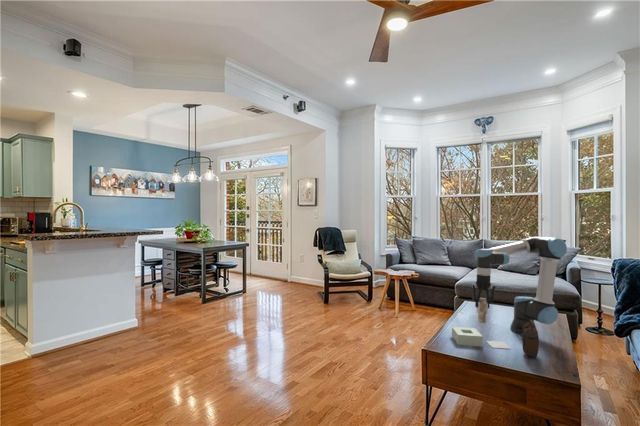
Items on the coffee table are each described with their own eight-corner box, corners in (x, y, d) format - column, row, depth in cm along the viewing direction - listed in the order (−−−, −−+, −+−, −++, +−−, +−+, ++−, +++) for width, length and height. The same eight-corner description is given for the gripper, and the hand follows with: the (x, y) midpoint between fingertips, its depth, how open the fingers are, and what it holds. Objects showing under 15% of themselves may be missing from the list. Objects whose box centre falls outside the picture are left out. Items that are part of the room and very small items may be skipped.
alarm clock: (520, 350, 194) (521, 315, 194) (535, 352, 190) (536, 317, 190) (522, 360, 181) (523, 323, 181) (538, 363, 177) (539, 325, 177)
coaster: (503, 342, 205) (503, 341, 205) (510, 349, 195) (510, 348, 195) (486, 341, 206) (486, 340, 206) (492, 347, 196) (492, 347, 196)
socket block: (474, 337, 212) (475, 328, 212) (482, 346, 198) (482, 336, 198) (451, 336, 213) (451, 326, 213) (457, 344, 200) (458, 334, 200)
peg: (484, 320, 204) (484, 297, 204) (486, 323, 200) (487, 299, 200) (477, 320, 205) (478, 297, 205) (479, 322, 201) (480, 299, 201)
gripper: (495, 274, 205) (494, 312, 205) (467, 272, 207) (465, 310, 207) (501, 276, 198) (499, 316, 198) (471, 274, 200) (469, 314, 200)
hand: (482, 313), depth 203 cm, fingers closed on peg, 4 cm apart
